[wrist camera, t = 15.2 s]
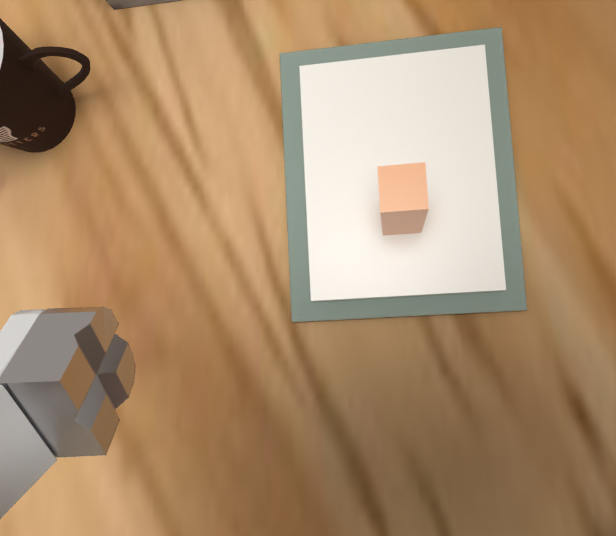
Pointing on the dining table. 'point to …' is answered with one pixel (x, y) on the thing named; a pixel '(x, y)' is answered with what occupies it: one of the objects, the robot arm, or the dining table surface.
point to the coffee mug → (34, 94)
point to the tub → (134, 3)
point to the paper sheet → (401, 176)
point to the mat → (505, 178)
